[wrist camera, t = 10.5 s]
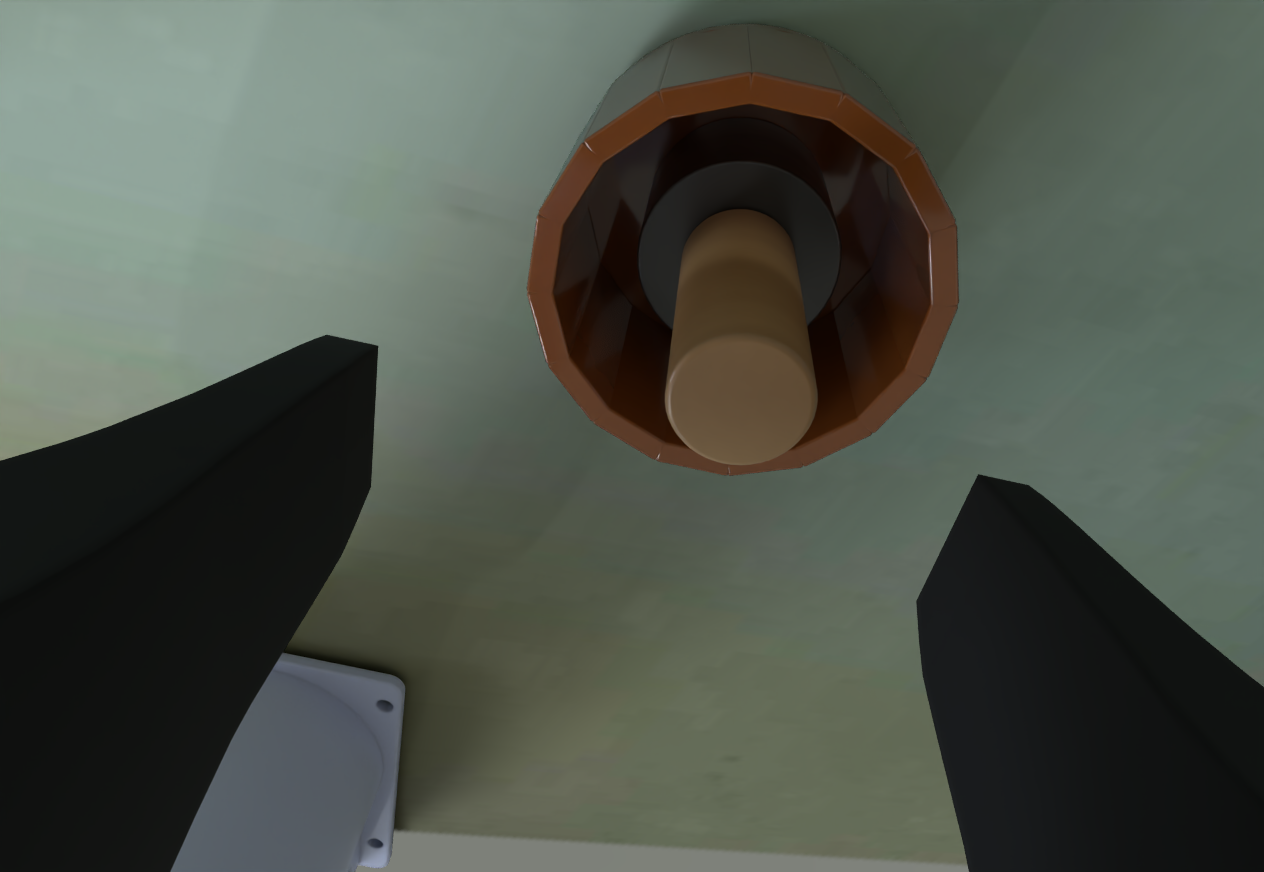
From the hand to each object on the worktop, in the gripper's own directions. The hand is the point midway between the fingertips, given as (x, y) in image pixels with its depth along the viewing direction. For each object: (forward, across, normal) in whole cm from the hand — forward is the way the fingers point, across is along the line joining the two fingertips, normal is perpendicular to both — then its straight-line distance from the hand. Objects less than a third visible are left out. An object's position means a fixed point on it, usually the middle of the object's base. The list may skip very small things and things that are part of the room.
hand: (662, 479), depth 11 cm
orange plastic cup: (+10, -1, 0) cm, 10 cm away
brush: (+9, -1, 0) cm, 9 cm away
